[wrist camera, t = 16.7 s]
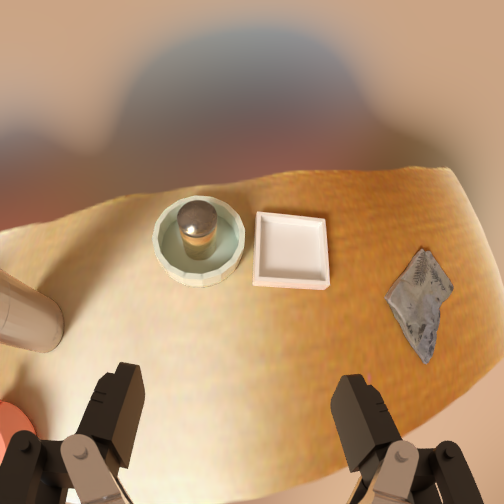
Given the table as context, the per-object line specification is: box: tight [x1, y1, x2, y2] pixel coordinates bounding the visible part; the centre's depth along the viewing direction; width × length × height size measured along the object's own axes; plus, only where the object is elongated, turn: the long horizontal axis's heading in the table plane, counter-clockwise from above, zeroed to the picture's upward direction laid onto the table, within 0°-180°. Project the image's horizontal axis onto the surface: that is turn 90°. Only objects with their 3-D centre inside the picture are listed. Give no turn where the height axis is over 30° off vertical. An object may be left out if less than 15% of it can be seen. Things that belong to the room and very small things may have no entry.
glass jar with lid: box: [177, 200, 217, 261], centre depth 39 cm, size 5×5×8 cm
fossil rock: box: [384, 249, 454, 364], centre depth 43 cm, size 18×15×2 cm
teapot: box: [0, 400, 36, 463], centre depth 21 cm, size 12×18×10 cm
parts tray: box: [252, 211, 330, 290], centre depth 43 cm, size 11×11×2 cm
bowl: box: [152, 195, 245, 287], centre depth 41 cm, size 13×13×4 cm
